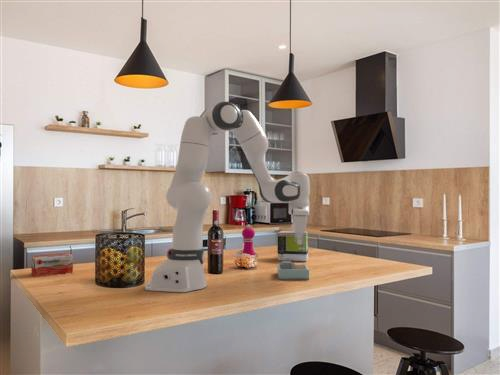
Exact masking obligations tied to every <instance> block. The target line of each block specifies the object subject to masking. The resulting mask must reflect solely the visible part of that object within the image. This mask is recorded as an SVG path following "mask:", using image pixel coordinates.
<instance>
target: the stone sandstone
mask: <svg viewBox="0 0 500 375" xmlns="http://www.w3.org/2000/svg"><path fill="white" fill-rule="evenodd" d="M292 264H293V269H305V265H306V264H305V263H304V262H294V263H292Z"/></svg>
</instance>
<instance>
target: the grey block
mask: <svg viewBox="0 0 500 375" xmlns="http://www.w3.org/2000/svg"><path fill="white" fill-rule="evenodd" d="M281 264H282V268H281V269H292V264H293V263H292V261H283V260H281Z"/></svg>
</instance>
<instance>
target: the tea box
mask: <svg viewBox="0 0 500 375" xmlns="http://www.w3.org/2000/svg"><path fill="white" fill-rule="evenodd" d="M308 234H309V233H308V231H306V232H305V234H303V237H302V244H301V245H298V244H297V242H296V241H295V232H294V231H293V230H280V231H278V232H277V234H276V235H277V238H276V239H277V240H276V241H277V261H291V262H292V261H293V262H307V261H308V258H309V240H308V239H309V236H308Z"/></svg>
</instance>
